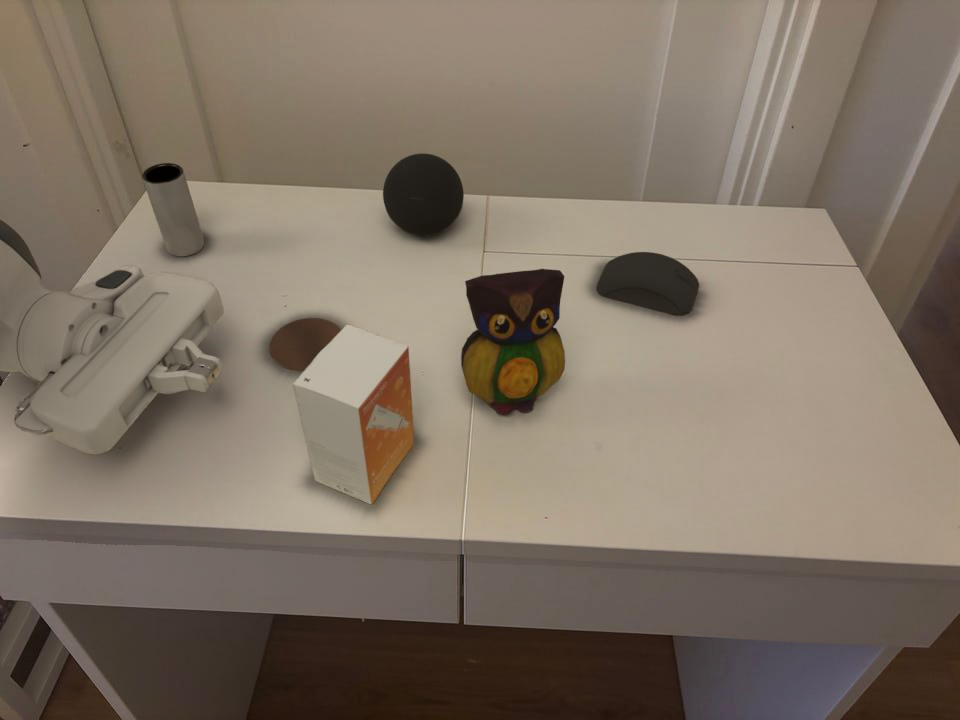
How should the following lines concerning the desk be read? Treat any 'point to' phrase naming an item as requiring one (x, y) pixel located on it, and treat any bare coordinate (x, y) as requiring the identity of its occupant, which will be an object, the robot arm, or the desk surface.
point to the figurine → (514, 338)
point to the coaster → (301, 342)
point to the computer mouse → (650, 282)
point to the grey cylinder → (173, 208)
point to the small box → (357, 411)
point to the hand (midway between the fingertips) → (213, 375)
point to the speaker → (423, 194)
